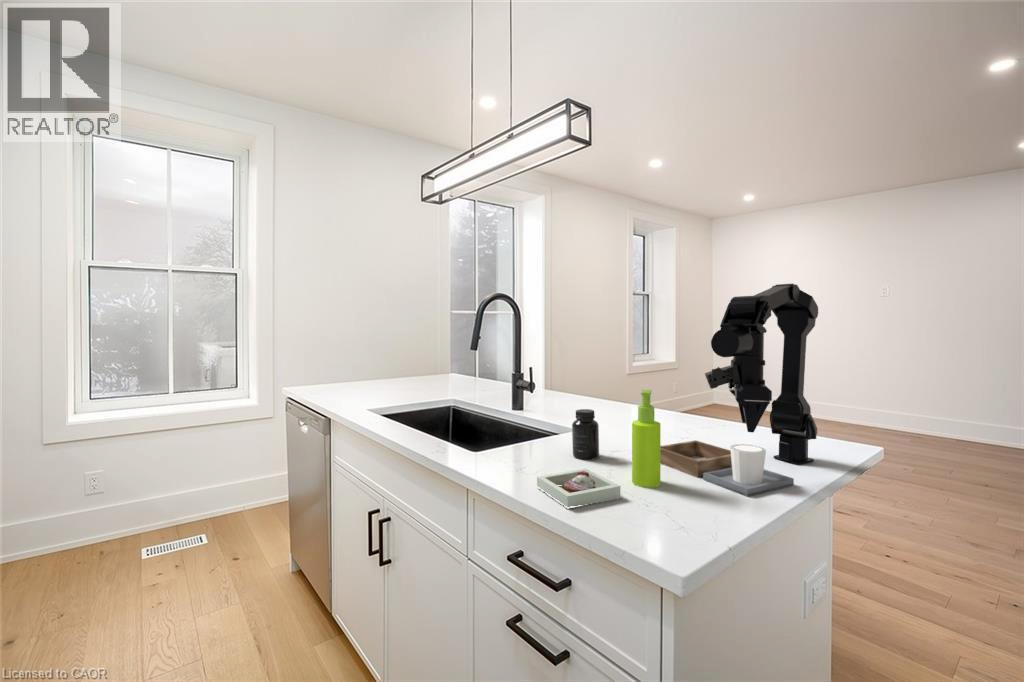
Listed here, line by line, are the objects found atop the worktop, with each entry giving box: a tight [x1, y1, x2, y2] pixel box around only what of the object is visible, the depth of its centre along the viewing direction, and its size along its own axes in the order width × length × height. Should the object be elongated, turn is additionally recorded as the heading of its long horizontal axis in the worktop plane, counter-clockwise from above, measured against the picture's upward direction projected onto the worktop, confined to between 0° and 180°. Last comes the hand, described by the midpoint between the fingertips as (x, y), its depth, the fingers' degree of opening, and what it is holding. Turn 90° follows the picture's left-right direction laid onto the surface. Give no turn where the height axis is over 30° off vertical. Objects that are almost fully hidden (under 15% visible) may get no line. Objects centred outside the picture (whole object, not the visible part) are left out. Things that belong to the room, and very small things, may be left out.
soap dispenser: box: [631, 389, 661, 488], centre depth 100 cm, size 6×7×20 cm
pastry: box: [561, 471, 596, 493], centre depth 93 cm, size 8×8×5 cm
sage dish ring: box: [536, 468, 621, 507], centre depth 94 cm, size 12×12×2 cm
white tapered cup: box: [729, 443, 767, 485], centre depth 99 cm, size 7×7×7 cm
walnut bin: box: [660, 440, 732, 479], centre depth 112 cm, size 14×14×4 cm
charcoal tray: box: [702, 467, 795, 497], centre depth 99 cm, size 14×11×2 cm
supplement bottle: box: [571, 408, 600, 461], centre depth 120 cm, size 7×7×12 cm
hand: (747, 427), depth 99 cm, fingers open, 9 cm apart
